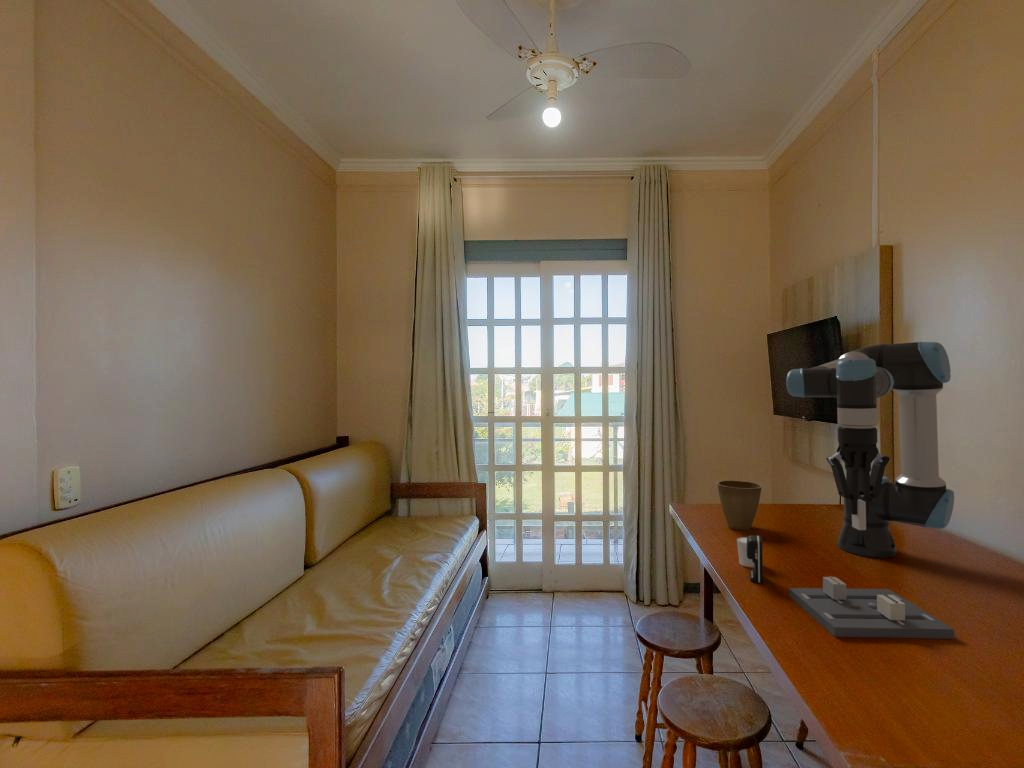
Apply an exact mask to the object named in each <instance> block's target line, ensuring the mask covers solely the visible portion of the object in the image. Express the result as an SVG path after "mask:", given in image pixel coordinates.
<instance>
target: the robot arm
mask: <svg viewBox="0 0 1024 768" xmlns="http://www.w3.org/2000/svg"><path fill="white" fill-rule="evenodd" d="M785 381H786V383H785V384H786V389H787V390H786V391H787V393H788V394H789V395H790V396H792V397H798V398H803V399H804V398H836V409H837V411H836V413H837V424H838V425H840V426H838V427H837V442H838V447H837V449H836V453H834V454H832V455H831V456H830V455H828V456H826V458H825V459H826V461H827V463H828V464H829V465H830V467H831V468H830V469H831V470H832V474H833V478H834V482H835V485H836V488H837V494H838V495H839V496H840V497H842V498H843V523H842V527H841V530H840V533H839V536H838V537H837V546H838V548H839V549H841V550H842V551H844V552H848V553H850V554H854V555H858V556H862V557H868V558H869V557H870V558H881V559H884V558H892V557H895V556H896V555H897V545H896V543H895V540H894V537H893V534H892V532H891V529H890V522H894V523H899V524H905V525H911V526H916V527H922V528H923V527H924V529H927V528H929V529H937V530H943V529H945V528H947V527H948V524H949V523H950V520H951V518H952V514H953V510H954V503H955V492H954V491H953V490H952V489H950V488H947V481H945V480H944V479H943V478H942V477H941V476H940V469H939V467H940V466H939V441H938V440H939V439H938V434H939V432H938V407H937V405H938V404H937V395H938V394H939V393H940V392H941V391H943V389H944V384H946V383H948V382H950V381H951V365H950V359H949V355H948V353H947V351H946V349H945V347H944V346H943V344H942V343H940V342H937V341H936V342H935V341H915V342H902V343H888V344H886V343H885V344H883V343H881V344H873V345H868V346H865V347H861V348H857V349H855V350H851V351H848V352H846V353H844V354H842V355H840V357H839V358H838V359H834V360H831V361H830V362H825V363H824V364H821V365H818V366H813V367H811V368H803V367H800V368H794V369H791V370H789V371H788V372H787V376H786V379H785ZM891 391H894V393H896V394H897V395H898V417H899V419H898V420H899V442H900V443H899V444H900V445H899V447H900V469H901V472H900V474H899V475H898V476H897V477H895V479H894V481H895V482H890V479H889V477H887V476H884V474H885V470H886V467H887V465H888V464H889V462H890V460H891V459H890V457H889V456H888V455H887V456H886V455H883V454H882V453H880V451H879V448H878V447H877V443H878V428H876V427H875V426H877V425H878V409H877V406H878V405H877V404H878V403H877V402H878V401H877V398H880V397H883V396H885V395H887V394H888V393H890V392H891ZM842 463H844V468H845V471H844V468H843V465H842ZM845 473H846V475H845Z"/></svg>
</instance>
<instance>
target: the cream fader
mask: <svg viewBox="0 0 1024 768" xmlns="http://www.w3.org/2000/svg"><path fill="white" fill-rule="evenodd" d="M877 611H878V612H880V613H881V614H883V615H884V616H885V617H887V618H888V619H890V620H905V603H903V602H901V601H900V600H898V599H897V598H895V597H893V596H892V595H886V594H884V595H877Z"/></svg>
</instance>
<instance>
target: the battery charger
mask: <svg viewBox="0 0 1024 768" xmlns="http://www.w3.org/2000/svg"><path fill="white" fill-rule="evenodd" d="M746 537H747V547H746V552H747V558H748V559H752V562H754V564H755V565H754V567H752V570H751V571H749V580H750V581H751V582H754V583H759V584H763V582H764V573H763V570H764V569H763V567H764V566H763V565H764V564H763V563H764V562H763V561H764V559H763V540H762V536H761V535H753V534H751V535H750V534H749V535H748V536H746Z"/></svg>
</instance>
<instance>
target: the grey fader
mask: <svg viewBox="0 0 1024 768" xmlns="http://www.w3.org/2000/svg"><path fill="white" fill-rule="evenodd" d="M822 588H823V592H824V593H826V594H827V595H828V596H830V597H831V598H832V599H844V600H846V589H847V584H846V583H845V582H843V581H842V579H839V578H838V577H836V576H831V575H829V576H823V577H822Z"/></svg>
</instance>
